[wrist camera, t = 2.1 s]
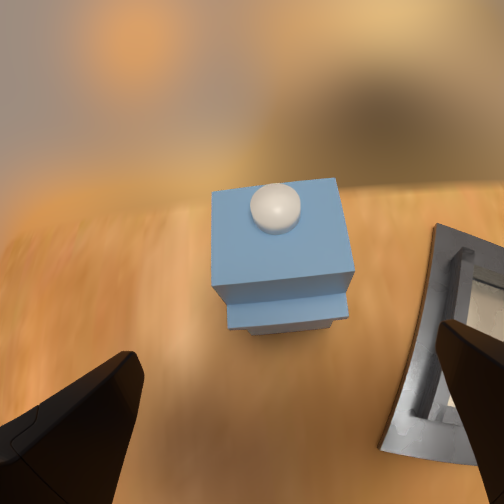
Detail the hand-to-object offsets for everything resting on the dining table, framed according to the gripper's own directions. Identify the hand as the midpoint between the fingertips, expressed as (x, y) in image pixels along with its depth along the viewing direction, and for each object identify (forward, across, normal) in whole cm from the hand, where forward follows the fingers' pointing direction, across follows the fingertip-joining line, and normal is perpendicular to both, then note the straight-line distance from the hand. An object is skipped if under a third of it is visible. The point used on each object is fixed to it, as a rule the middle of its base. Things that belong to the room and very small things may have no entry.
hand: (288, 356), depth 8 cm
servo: (+12, 0, +5) cm, 12 cm away
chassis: (+7, -14, +9) cm, 18 cm away
